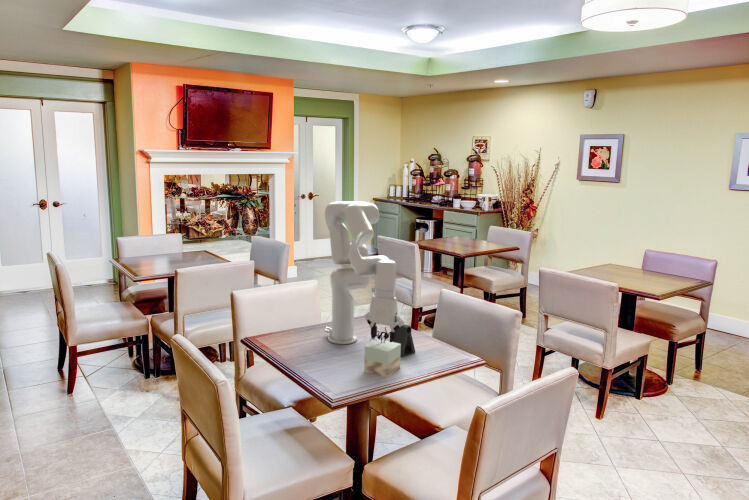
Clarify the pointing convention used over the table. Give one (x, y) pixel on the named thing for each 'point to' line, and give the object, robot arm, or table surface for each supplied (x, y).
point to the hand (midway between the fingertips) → (383, 338)
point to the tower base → (382, 367)
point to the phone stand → (405, 340)
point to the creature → (381, 336)
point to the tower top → (382, 351)
